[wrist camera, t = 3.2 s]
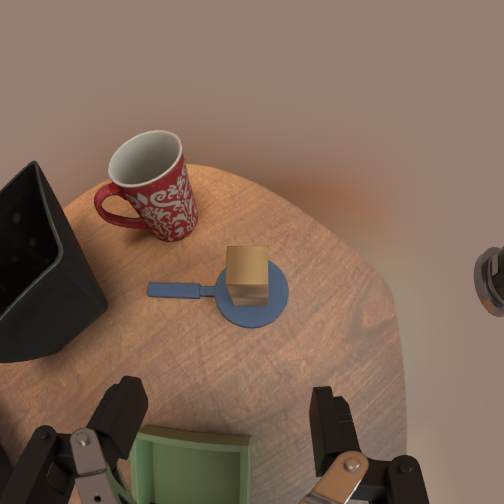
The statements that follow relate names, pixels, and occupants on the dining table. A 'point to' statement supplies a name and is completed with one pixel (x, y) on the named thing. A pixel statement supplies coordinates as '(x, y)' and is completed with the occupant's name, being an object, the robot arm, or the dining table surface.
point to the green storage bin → (189, 467)
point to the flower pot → (41, 272)
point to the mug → (151, 186)
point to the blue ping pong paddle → (234, 314)
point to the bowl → (4, 470)
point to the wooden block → (247, 275)
